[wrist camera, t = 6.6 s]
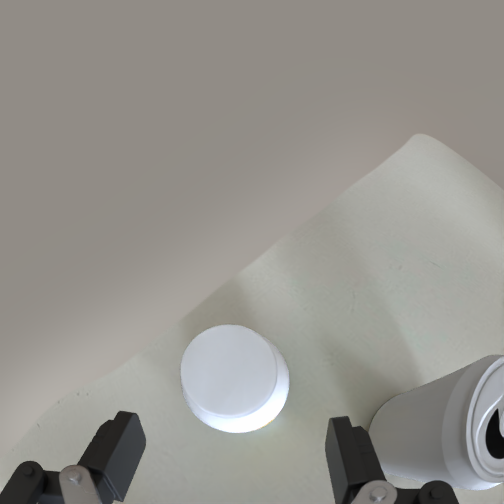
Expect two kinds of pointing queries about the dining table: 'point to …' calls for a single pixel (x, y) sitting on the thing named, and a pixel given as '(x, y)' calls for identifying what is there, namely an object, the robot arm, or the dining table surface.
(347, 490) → the robot arm
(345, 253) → the dining table surface
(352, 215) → the dining table surface
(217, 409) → the supplement bottle
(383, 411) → the beverage can
